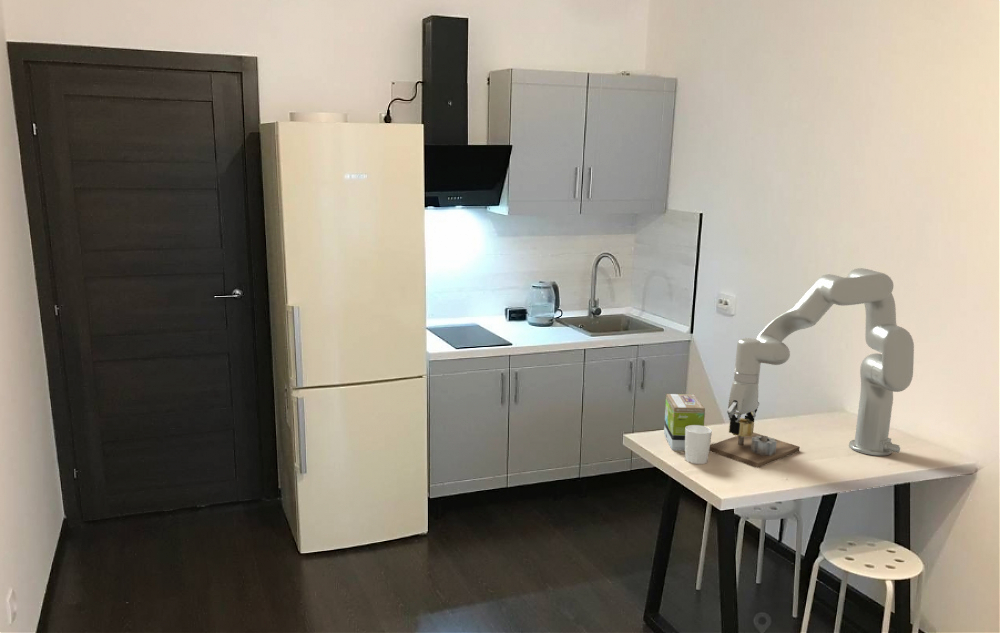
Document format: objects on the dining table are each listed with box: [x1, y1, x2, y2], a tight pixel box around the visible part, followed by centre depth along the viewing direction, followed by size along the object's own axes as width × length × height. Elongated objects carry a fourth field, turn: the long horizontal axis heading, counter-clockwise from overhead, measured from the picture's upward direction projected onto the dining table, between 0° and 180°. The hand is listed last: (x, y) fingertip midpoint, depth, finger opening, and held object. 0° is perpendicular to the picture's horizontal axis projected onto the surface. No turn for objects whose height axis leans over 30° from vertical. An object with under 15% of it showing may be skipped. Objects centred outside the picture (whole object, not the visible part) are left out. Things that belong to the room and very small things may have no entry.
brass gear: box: [728, 417, 755, 437], centre depth 241 cm, size 7×7×4 cm
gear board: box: [709, 431, 800, 469], centre depth 240 cm, size 18×24×6 cm
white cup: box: [684, 425, 713, 465], centre depth 231 cm, size 8×8×10 cm
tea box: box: [663, 393, 706, 452], centre depth 245 cm, size 15×10×15 cm
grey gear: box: [751, 435, 777, 456], centre depth 236 cm, size 7×7×4 cm
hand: (741, 430), depth 241 cm, fingers closed on brass gear, 7 cm apart
